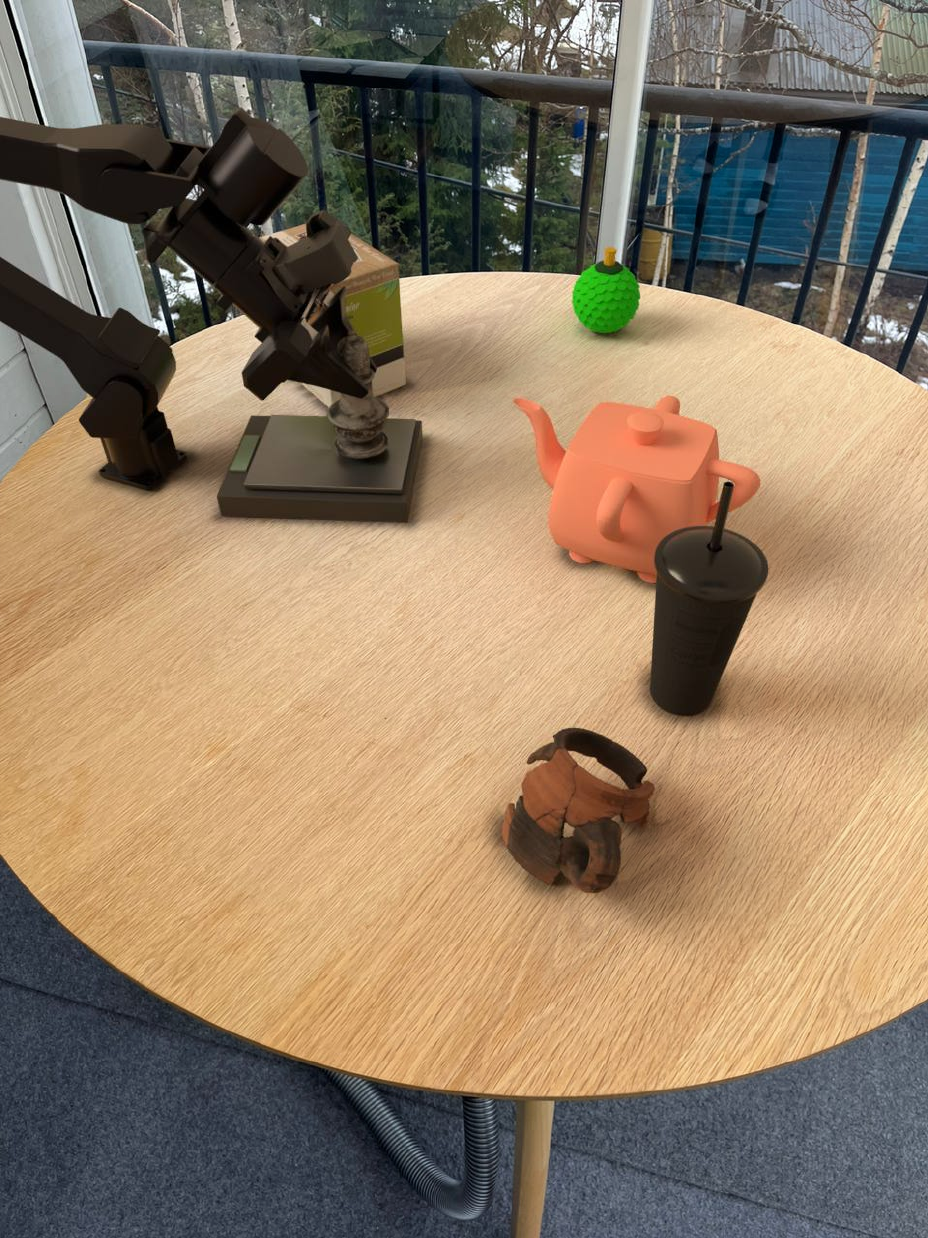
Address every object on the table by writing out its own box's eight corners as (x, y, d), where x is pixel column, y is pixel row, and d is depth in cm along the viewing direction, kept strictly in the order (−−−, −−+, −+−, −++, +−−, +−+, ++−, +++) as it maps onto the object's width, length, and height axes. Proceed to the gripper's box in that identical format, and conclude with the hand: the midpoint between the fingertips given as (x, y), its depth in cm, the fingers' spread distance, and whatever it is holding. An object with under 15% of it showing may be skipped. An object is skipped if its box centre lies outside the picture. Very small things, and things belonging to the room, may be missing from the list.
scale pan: (244, 488, 89) (243, 483, 88) (272, 419, 97) (271, 414, 97) (402, 494, 88) (401, 489, 87) (415, 423, 96) (415, 418, 96)
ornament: (581, 309, 119) (588, 230, 112) (643, 321, 117) (654, 241, 110) (560, 338, 114) (566, 257, 107) (625, 351, 112) (635, 269, 105)
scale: (221, 516, 90) (215, 494, 88) (254, 434, 100) (250, 413, 98) (407, 523, 89) (406, 500, 87) (422, 439, 99) (421, 418, 97)
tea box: (268, 360, 111) (246, 235, 101) (340, 335, 115) (327, 213, 105) (333, 416, 102) (316, 285, 92) (409, 386, 107) (402, 258, 96)
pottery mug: (478, 799, 67) (526, 706, 64) (591, 822, 70) (641, 735, 67) (521, 926, 57) (581, 823, 54) (651, 947, 60) (713, 850, 57)
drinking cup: (736, 669, 75) (796, 462, 61) (723, 741, 70) (785, 532, 56) (642, 647, 77) (678, 441, 63) (622, 716, 72) (657, 508, 58)
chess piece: (403, 444, 91) (397, 329, 83) (355, 467, 88) (344, 351, 80) (366, 419, 94) (357, 306, 86) (318, 441, 92) (304, 326, 83)
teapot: (747, 571, 83) (781, 447, 74) (590, 621, 79) (605, 495, 70) (650, 471, 95) (669, 351, 85) (508, 509, 90) (511, 388, 81)
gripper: (258, 242, 69) (412, 386, 76) (317, 154, 82) (444, 283, 89) (177, 335, 75) (326, 460, 82) (244, 239, 88) (368, 354, 95)
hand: (370, 384), depth 87 cm, fingers closed on chess piece, 3 cm apart
